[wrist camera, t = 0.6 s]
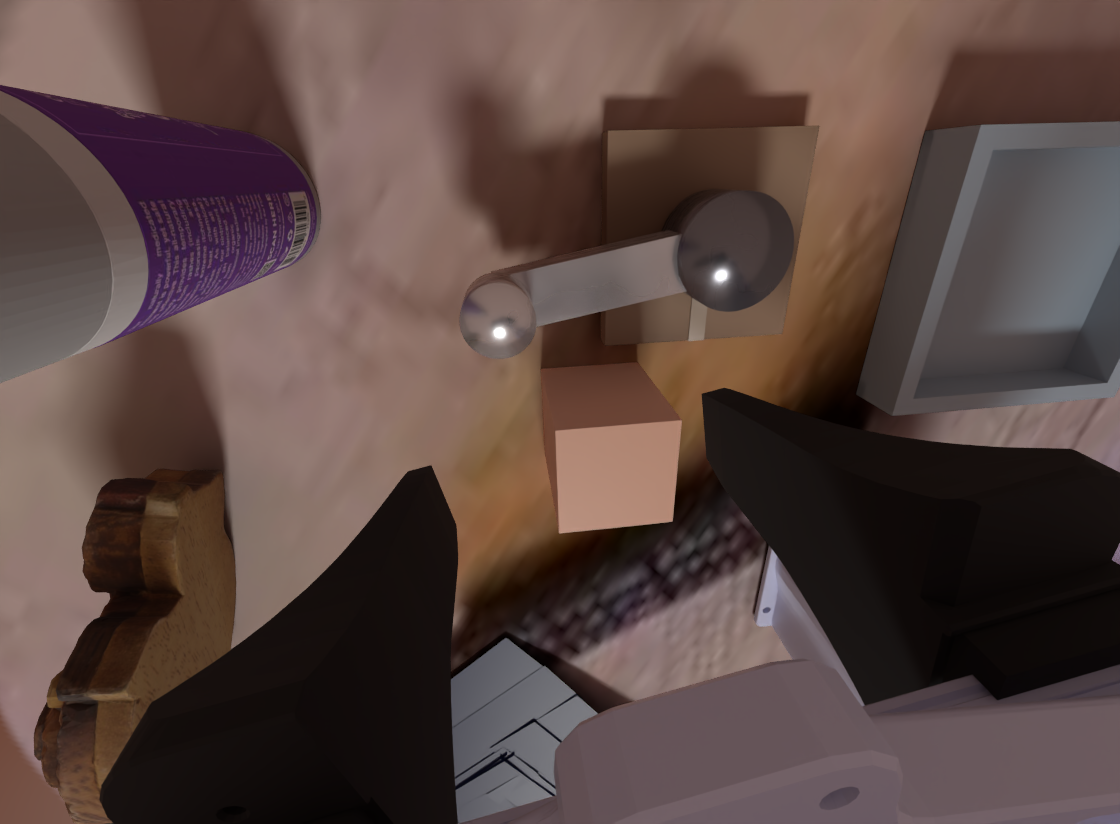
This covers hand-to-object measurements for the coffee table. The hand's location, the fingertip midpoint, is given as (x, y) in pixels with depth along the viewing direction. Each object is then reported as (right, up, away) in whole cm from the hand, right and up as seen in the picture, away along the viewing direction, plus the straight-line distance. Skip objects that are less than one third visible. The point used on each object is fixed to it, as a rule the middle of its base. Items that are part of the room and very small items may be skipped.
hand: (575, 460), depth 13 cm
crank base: (+5, +8, +8) cm, 13 cm away
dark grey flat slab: (-3, -29, +25) cm, 39 cm away
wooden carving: (-18, -7, +12) cm, 23 cm away
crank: (+2, +7, +6) cm, 10 cm away
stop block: (+1, +1, +11) cm, 11 cm away
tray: (+20, +8, +10) cm, 24 cm away
